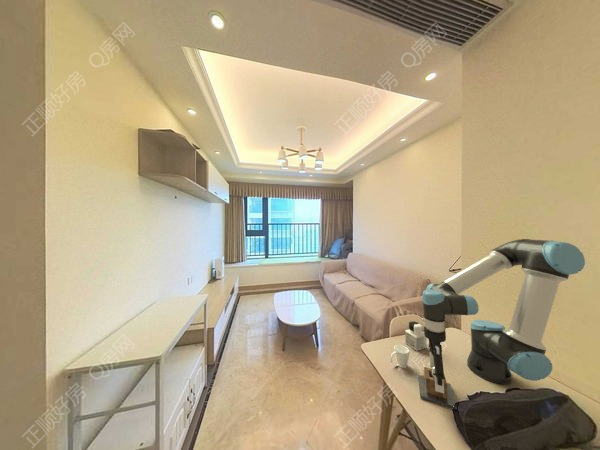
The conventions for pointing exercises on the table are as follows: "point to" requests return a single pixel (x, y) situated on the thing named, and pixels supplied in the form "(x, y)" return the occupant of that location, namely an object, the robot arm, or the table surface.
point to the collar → (433, 384)
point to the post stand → (433, 398)
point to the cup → (401, 355)
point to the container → (415, 336)
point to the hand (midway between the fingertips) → (436, 378)
